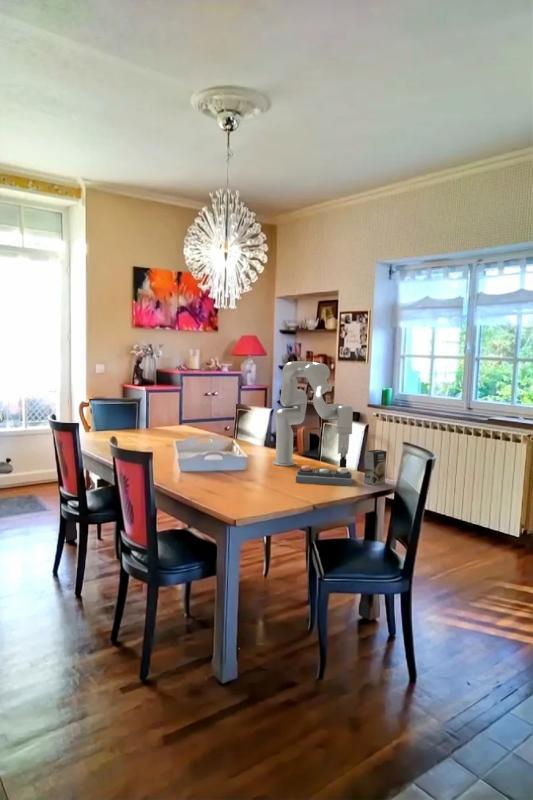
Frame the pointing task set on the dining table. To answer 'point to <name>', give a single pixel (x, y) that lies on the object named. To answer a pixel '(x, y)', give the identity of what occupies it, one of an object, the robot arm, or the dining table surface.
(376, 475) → the coffee box
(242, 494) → the dining table surface
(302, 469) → the terracotta button
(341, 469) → the cream button
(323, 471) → the sage button
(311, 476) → the button panel
